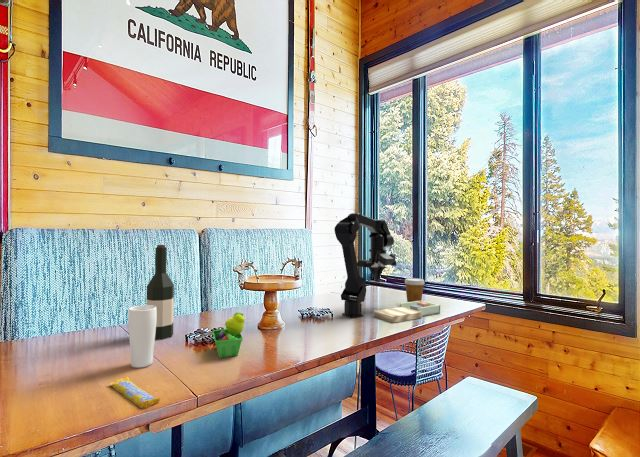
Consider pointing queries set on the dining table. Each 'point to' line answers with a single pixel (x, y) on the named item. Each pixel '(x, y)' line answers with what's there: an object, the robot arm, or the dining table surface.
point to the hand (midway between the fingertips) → (376, 281)
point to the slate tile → (415, 307)
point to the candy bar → (134, 392)
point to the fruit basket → (230, 336)
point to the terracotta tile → (423, 304)
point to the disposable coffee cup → (414, 289)
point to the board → (398, 314)
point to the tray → (425, 310)
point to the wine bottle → (162, 295)
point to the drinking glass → (142, 334)
